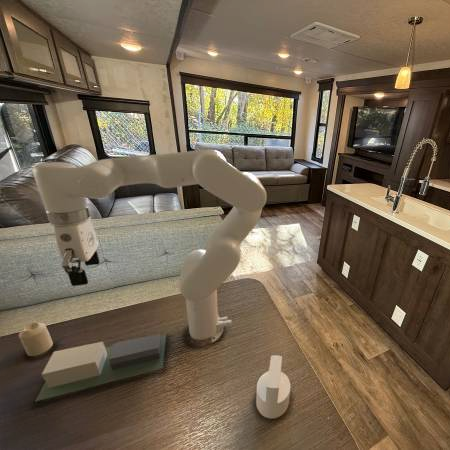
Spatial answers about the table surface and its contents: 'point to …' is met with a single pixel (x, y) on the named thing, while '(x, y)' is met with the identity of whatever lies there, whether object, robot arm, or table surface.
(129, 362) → the grey book
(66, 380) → the white book
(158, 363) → the shelf board
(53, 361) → the white book
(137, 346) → the grey book
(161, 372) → the table surface
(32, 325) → the candle
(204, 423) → the table surface
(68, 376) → the white book
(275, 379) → the base with upright slab
